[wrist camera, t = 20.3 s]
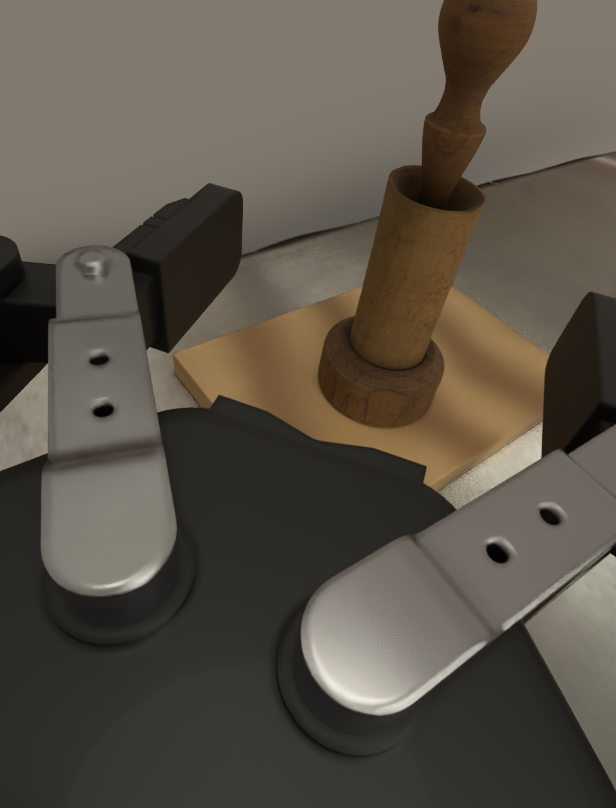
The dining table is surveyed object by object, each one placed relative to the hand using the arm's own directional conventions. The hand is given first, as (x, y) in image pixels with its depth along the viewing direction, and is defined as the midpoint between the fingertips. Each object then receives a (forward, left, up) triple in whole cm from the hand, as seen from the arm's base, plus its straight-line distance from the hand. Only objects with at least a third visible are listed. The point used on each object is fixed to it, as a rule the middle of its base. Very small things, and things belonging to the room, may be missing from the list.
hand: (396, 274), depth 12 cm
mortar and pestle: (-5, -9, -13) cm, 17 cm away
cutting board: (-6, -10, -15) cm, 19 cm away
